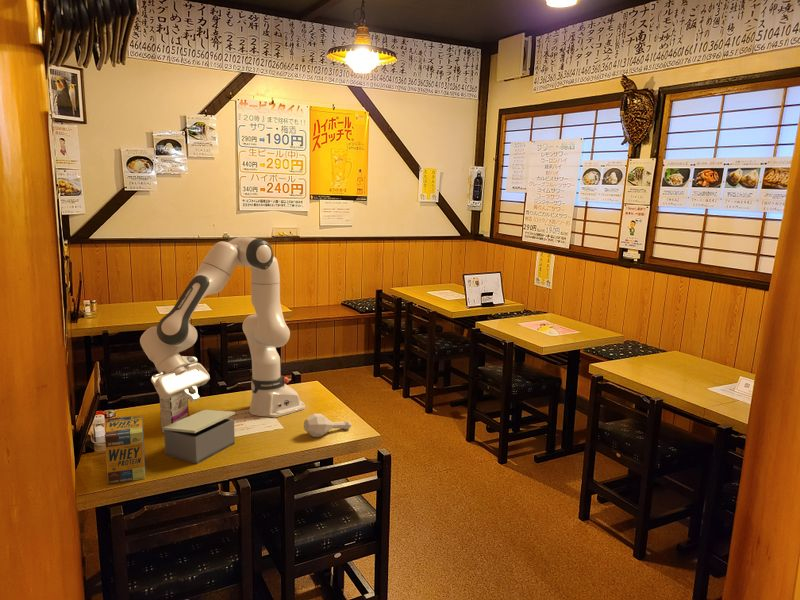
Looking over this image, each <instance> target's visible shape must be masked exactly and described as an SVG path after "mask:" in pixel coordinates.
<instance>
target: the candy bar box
mask: <svg viewBox="0 0 800 600" xmlns="http://www.w3.org/2000/svg"><path fill="white" fill-rule="evenodd" d="M158 396H159V395H158ZM158 398H159V409H160V410H159V412H160V421H161V423H160V424H161V425H160V426H161V433H162V434H164V430H163V427H165V426H168V425H170V424H172V423H175V422H177V421H179V420H181V419H184V418H186V417H188V416H190V412H189V399H188V398H186V397H184V396H183V395H182V394H179V395H176V396H174V397H171V398H169V399H166V400H163V399H161V398H160V396H159V397H158Z"/></svg>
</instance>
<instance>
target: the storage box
mask: <svg viewBox="0 0 800 600" xmlns="http://www.w3.org/2000/svg"><path fill="white" fill-rule="evenodd" d="M163 434H164V449H165V450H164V452H165V456H167V455H168V457H171V458H173V459H178V460H182V461H185V462H188V463H192V464H195V465H198V464H200V463H201V462H203V461H205V460H207V459H209V458H210V457H213V456H214V455H216V454H218V453H220V452H222V451H224V450H226V449H228V448H230V447H232V446H233V445H235V443H236V442H235V441H236V440H235V438H236V437H235V419H234V418H233V419H232V418H230V417H228V418H226V419H224V420H222V421H220V422H217V423H215V424H213V425H211V426H209V427H207V428H205V429H203V430H201V431H198V432H196V433H189V432H179V431H169V430H164V433H163Z"/></svg>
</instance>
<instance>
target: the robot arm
mask: <svg viewBox="0 0 800 600" xmlns="http://www.w3.org/2000/svg"><path fill="white" fill-rule="evenodd" d="M238 266H242V267H248V268H249V269H250V272H251V275H250V286H251V287H250V289H251V290H250V291H251V293H250V294H251V295H250V296H251V297H250V301H251V304H252V307H253V308H254V311H255V313H254V314H250V315H248V316H247V317H246V318H245V319H244V320H243V323H242V327H241V328H242V331H243V333H244V335H245V337H246V340H247V345H248V348H249V352H250V357H251V370H252V372H251V373H252V376H251V383H250V384H251V385H250V386H251V392H252V393H251V401H250V406H249V410H248V412H249V413H250V414H251V415H253V416H258V417H269V418H279V417H282V416H285V415H288V414H292V413H295V412H299V411H302V410H305V409H306V404H305V403H304V402H303V401H302V400H301V399H300V396H299V393H298V391H296V390H295V389H294V388H293V387H291V386H289V385H288V384H289V382H290V379H289V378H288V377H287V376H284V375H282V374H281V357H280V355H279V353H278V351H277V348H280V347H284V346H285V345H287V343H288V342H289V340H290V337H291V331H290V328H289V327H288V325H287V323H286V321H285V317H284V313H283V310H282V305H281V279H280V278H281V275H280V274H281V273H280V267H279V262H278V259H277V257H275V256H274V251H273V248H272V246H271V244H270V243H269V242H268V241H266V240H265V239H261V238H256V237H252V236H251V237H250V236H245V237H243V236H242V237H241V236H234V237H231V238H229V239H227V240H226V241H218V242H216V243H215V244H214V245H213V246H211V248H210V250H209V251H208V252H207V254H206V255H205V257H204V258H203V260H202V262H201V263H200V266H199V268H198V269H197V270H196V273H195V275H194V276H193V278H192V279H191V281H190V282H189V283H188V285H187V286H186V287H185V289H184V291H183V292H182V294H180V297H179V298H178V300H177V302H176V303H175V305H174V306H173V308H172V309H171V310H170V311H169V312H168V313H167V314H165V315H164V316H163V317H162V318H161V319H160V320H159V321H158V323H157V325H156V326H155V325H153V326H151V327H148V328H146V330H145V331H144V332H143V333H142V334H141V336H140V338H139V344H140V347H141V349H142V351H143V352H144V353H145V355H146V356H147V357H148V359H149V360H150V361H151V362H153V364H154V367H155V369H156V371H157V372H158V373H157V374H156V373H155V374H153V375H152V376H151V378H150V381H151V383H152V385H153V386H154V389H155V390H156V393H157V394H158V396H160V398H161V399H163V400H166V399H169V398H171V397H174V396H176V395H179V394H182V395H183V396H184V397H186V398H188V401H190V402H191V403H193V402H195V401H199V399H200V397H201V396H200V395H199V392H198V388H199V387H201V386H204V385H206V384H207V383H208V382H209V381H210V380H211V377H210V374H209V372H208V371H207V370H206V368H205V367H204V366H203V365H202V364H201V363H200V362H198V358H197V357H196V356H186V355H185V356H184V355H181V354H180V353H182V352H184V351H186V350H187V349H189V348H191V347H193V346H194V345H195V344H196V342H197V340H198V336H199V335H198V330H197V329H196V327H195V326H194V325H192V324H191V323H190V320H191V318H192V316H193V314H194V312H195V311H196V309H197V308H198V305H199V304H200V303H201V301H202V300H203V299H204V298H205V297H207V296H209V295H216V294H218V293H221V291H222V290H223V289H224V288H225V287H226V285H228V282H229V280H230V278H231V276H232V274H233V272H234V270H235V268H236V267H238ZM160 398H159V399H160Z"/></svg>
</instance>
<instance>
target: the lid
mask: <svg viewBox="0 0 800 600" xmlns="http://www.w3.org/2000/svg"><path fill="white" fill-rule="evenodd" d="M233 415H234V416H235V415H236V412H235V411H231V410H230V411H227V410H215V409H203V410H200V411H198V412H195V413H193V414H191V415H189V416H188V417H186V418H184V419H181V420H179V421H177V422H175V423H172V424H170V425H168V426H165V427H163V430H169V431H179V432H189V433H196V432H198V431H201V430H203V429H205V428H207V427H209V426H211V425H213V424H215V423H217V422H220V421H222V420H224V419H226V418H230V417H232V416H233Z"/></svg>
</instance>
